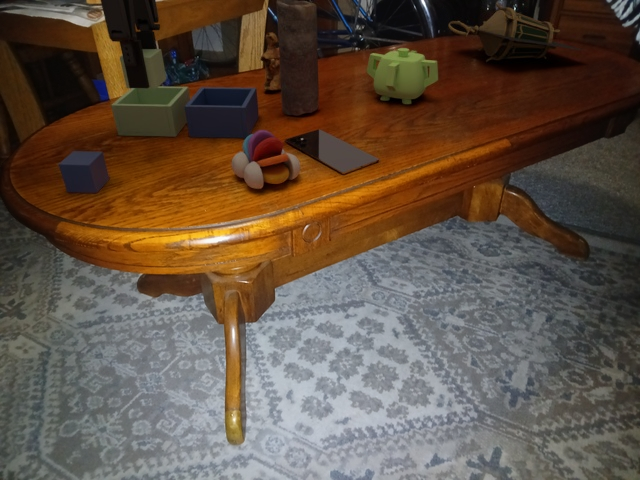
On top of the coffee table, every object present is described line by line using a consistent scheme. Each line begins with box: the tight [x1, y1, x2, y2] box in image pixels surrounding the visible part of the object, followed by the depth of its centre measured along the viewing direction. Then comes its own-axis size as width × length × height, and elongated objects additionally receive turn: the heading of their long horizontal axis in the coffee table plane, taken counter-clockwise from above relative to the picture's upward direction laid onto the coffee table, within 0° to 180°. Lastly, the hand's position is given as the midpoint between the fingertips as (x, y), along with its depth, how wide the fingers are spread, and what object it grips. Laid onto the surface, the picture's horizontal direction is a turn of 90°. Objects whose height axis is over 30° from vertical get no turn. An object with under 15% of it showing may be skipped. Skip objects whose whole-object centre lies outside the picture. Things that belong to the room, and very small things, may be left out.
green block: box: [119, 48, 167, 89], centre depth 75 cm, size 4×4×4 cm
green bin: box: [110, 85, 191, 138], centre depth 94 cm, size 11×11×6 cm
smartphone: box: [284, 129, 380, 175], centre depth 85 cm, size 8×1×16 cm
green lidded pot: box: [366, 47, 439, 105], centre depth 105 cm, size 12×12×10 cm
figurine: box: [259, 32, 281, 92], centre depth 108 cm, size 5×6×12 cm
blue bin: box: [184, 86, 260, 139], centre depth 93 cm, size 11×11×6 cm
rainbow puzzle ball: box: [230, 129, 301, 190], centre depth 76 cm, size 8×10×7 cm
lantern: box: [448, 2, 587, 63], centre depth 127 cm, size 14×23×30 cm
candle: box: [275, 0, 320, 117], centre depth 96 cm, size 8×7×20 cm
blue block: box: [58, 150, 111, 194], centre depth 75 cm, size 4×4×4 cm
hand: (146, 81), depth 76 cm, fingers closed on green block, 4 cm apart
